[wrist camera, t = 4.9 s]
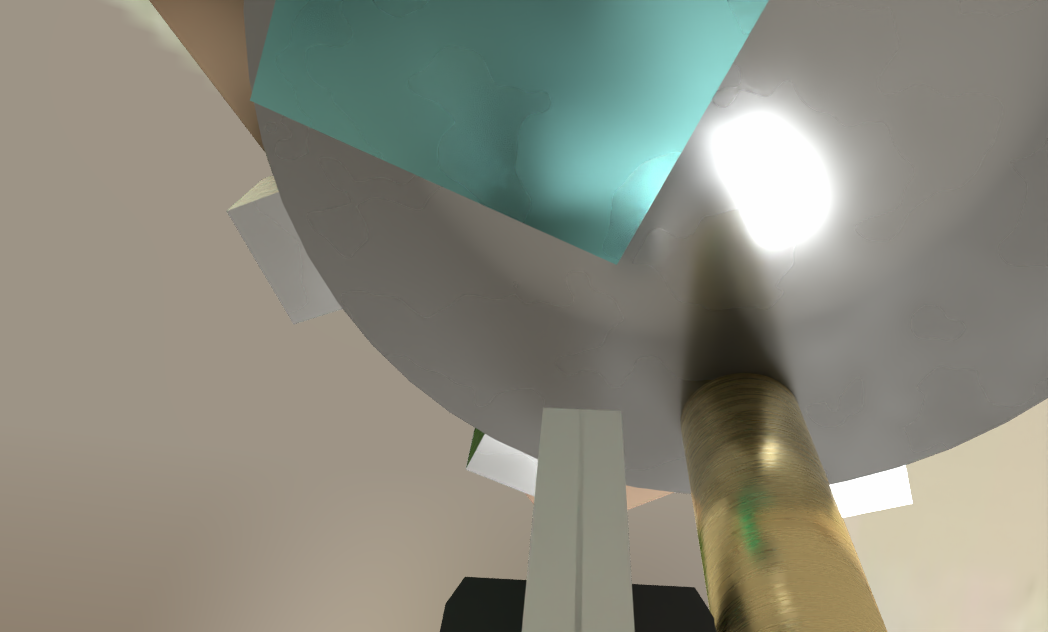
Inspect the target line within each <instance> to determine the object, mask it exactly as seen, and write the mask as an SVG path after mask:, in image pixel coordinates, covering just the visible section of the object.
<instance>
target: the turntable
mask: <svg viewBox="0 0 1048 632" xmlns="http://www.w3.org/2000/svg"><path fill="white" fill-rule="evenodd" d="M243 12H244V24H245V35H246V47H247V59H248V71H249V81H250V86H251V91H252V94H251V98H250V101H252V102H254V105H255V110H256V115H257V120H258V124H259V129H260V134H261V139H262V143H263V147H264V150H265V152H266V156H267V158H268V161H269V164H270V167H271V170H272V173H273V175H272V176H270V177H267V178H264V179H262V180H261V181H260V182H259V183H258V184H257V185H256V186H255V187H253V188H252V189H251V190H250V191H249V192H247V193H246V194H245V195H244V196H243V197H242V198H241V199H240V200H238V201H237V202H236V203H235V204H234V205H233V206H232V207H231V208H229V209H228V210H227V213H228V215H229V216H230V218H231V219H232V221H233V223H234V225H235V226H236V228H237V230H238V231H239V233H240V235H241V237H242V238H243V240H244V241H245V243H246V245H247V247H248V248H249V250H250V252H251V253H252V255H253V257H254V258H255V260H256V262H257V263H258V265H259V267H260V269H261V270H262V272H263V274H264V275H265V277H266V279H267V280H268V282H269V284H270V285H271V287H272V289H273V290H274V292H275V294H276V296H277V297H278V299H279V301H280V302H281V304H282V306H283V307H284V309H285V311H286V312H287V314H288V316H289V317H290V319H291V321H292V322H293V324H296V323H299V322H302V321H305V320H309V319H312V318H315V317H318V316H321V315H325V314H328V313H331V312H334V311H337V310H341V309H343V310H344V311H345V312H346V313H347V314H348V316H349V317H350V318H351V319H352V321H353V322H354V323H355V324H356V326H357V327H358V328H359V329H360V331H361V332H362V333H363V334H364V335H365V337H366V338H367V339H368V340H369V341H370V343H371V344H372V345H373V346H374V347H375V348H376V349H377V350H378V351H379V352H380V353H381V354H382V355H383V356H384V357H385V358H386V359H387V360H388V361H389V362H390V363H391V364H392V365H394V366H395V367H396V368H397V369H398V370H399V371H400V372H401V373H402V374H403V375H404V376H405V377H406V378H407V379H408V380H409V381H410V382H411V383H413V384H414V385H415V386H416V387H418V388H419V389H420V390H422V391H423V392H424V393H426V394H427V395H428V396H430V397H431V398H432V399H433V400H435V401H436V402H437V403H439V404H440V405H441V406H442V407H444V408H445V409H446V410H448V411H449V412H450V413H452V414H454V415H455V416H457V417H458V418H460V419H462V420H463V421H465V422H467V423H468V424H470V425H472V426H473V427H475V430H474V434H473V439H472V443H471V447H470V453H469V457H468V461H467V466H466V470H468V471H471V472H474V473H476V474H479V475H481V476H484V477H486V478H489V479H491V480H494V481H496V482H499V483H501V484H504V485H506V486H509V487H511V488H514V489H517V490H519V491H522V492H524V493H527V494H529V495H532V496H534V497H535V487H536V476H537V465H538V455H539V444H540V434H541V423H542V413H543V408H561V409H585V410H612V411H621V415H622V431H623V448H624V464H625V481H626V485H627V486H631V487H637V488H645V489H653V490H660V491H668V492H676V493H684V494H691V495H692V502H693V508H694V514H695V520H696V526H697V533H698V539H699V546H700V552H701V559H702V565H703V571H704V577H705V584H706V590H707V596H708V603H709V609H710V612H711V614H712V615H713V617H714V622H715V628H716V632H887V630H886V627H885V625H884V622H883V620H882V617H881V614H880V612H879V609H878V607H877V604H876V602H875V599H874V597H873V594H872V591H871V589H870V586H869V584H868V581H867V579H866V576H865V574H864V571H863V568H862V566H861V563H860V561H859V558H858V556H857V553H856V551H855V548H854V545H853V543H852V540H851V538H850V535H849V533H848V530H847V528H846V525H845V522H844V520H843V517H847V516H852V515H857V514H862V513H867V512H872V511H877V510H882V509H887V508H892V507H896V506H901V505H906V504H911V503H912V498H911V493H910V488H909V482H908V477H907V471H906V466H905V465H907V464H910V463H913V462H916V461H918V460H921V459H924V458H927V457H929V456H932V455H935V454H938V453H940V452H943V451H946V450H949V449H951V448H953V447H956V446H958V445H960V444H962V443H964V442H966V441H968V440H970V439H973V438H975V437H977V436H979V435H981V434H983V433H985V432H987V431H989V430H992V429H994V428H996V427H998V426H1000V425H1002V424H1004V423H1006V422H1008V421H1010V420H1011V419H1013V418H1015V417H1016V416H1018V415H1020V414H1022V413H1023V412H1025V411H1027V410H1028V409H1030V408H1032V407H1033V406H1035V405H1037V404H1038V403H1040V402H1042V401H1044V400H1045V399H1047V398H1048V0H244V10H243Z"/></svg>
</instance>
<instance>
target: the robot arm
mask: <svg viewBox="0 0 1048 632" xmlns="http://www.w3.org/2000/svg"><path fill="white" fill-rule="evenodd" d="M440 632H716V628H715V622H714V617H713V615H712V614H711V612H710V611H709V609H708V607H707V606H706V605H705V603H704V601H703V600H702V598H701V597H700V595H699V594H698V592H697V591H696V589H695V588H694V587H676V586H658V585H657V586H656V585H638V584H632V580H631V564H630V547H629V533H628V515H627V497H626V481H625V464H624V448H623V431H622V415H621V411H612V410H585V409H561V408H543V413H542V423H541V434H540V444H539V455H538V465H537V476H536V487H535V497H534V508H533V518H532V529H531V539H530V550H529V560H528V571H527V580H513V579H493V578H476V577H465V578H464V579H463V580H462V582H461V583H460V585H459V586H458V587H457V589H456V590H455V591H454V593H453V594H452V596H451V597H450V599H449V600H448V601H447V603H446V605H445V610H444V614H443V620H442V624H441V629H440Z"/></svg>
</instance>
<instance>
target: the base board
mask: <svg viewBox="0 0 1048 632" xmlns="http://www.w3.org/2000/svg"><path fill="white" fill-rule="evenodd" d="M149 1H150V2H151V3H152V5H153V6H154V7H155V8H156V10H157V11H158V12H159V14H160V15H161V16H162V18H163V19H164V20H165V22H166V23H167V24H168V26H169V27H170V28H171V29H172V31H173V32H174V33H175V35H176V36H177V37H178V39H179V40H180V41H181V43H182V44H183V45H184V47H185V48H186V49H187V50H188V52H189V53H190V54H191V56H192V57H193V58H194V60H195V61H196V62H197V64H198V65H199V66H200V68H201V69H202V70H203V71H204V73H205V74H206V75H207V77H208V78H209V79H210V81H211V82H212V83H213V85H214V86H215V87H216V88H217V90H218V91H219V92H220V94H221V95H222V96H223V98H224V99H225V100H226V102H227V103H228V104H229V106H230V107H231V108H232V109H233V111H234V112H235V113H236V115H237V116H238V117H239V119H240V120H241V121H242V123H243V124H244V125H245V127H246V128H247V129H248V130H249V132H250V133H251V134H252V136H253V137H254V138H255V140H256V141H257V142H258V144H259V145H260V146H261V147H262V149H263V150H264V147H263V143H262V139H261V134H260V129H259V124H258V120H257V115H256V110H255V105H254V102H252V101H250V98H251V94H252V91H251V86H250V81H249V71H248V59H247V47H246V35H245V24H244V12H243V10H244V0H149ZM264 151H265V150H264ZM671 493H674V492H668V491H660V490H653V489H645V488H637V487H631V486H627V485H626V497H627V510H629V509H631V508H634V507H637V506H639V505H642V504H645V503H647V502H650V501H653V500H655V499H658V498H661V497H663V496H666V495H669V494H671ZM525 494H526V495H527V496H528V498H529V499H530V500H531V502H532V503H533V504H534V496H532V495H529V494H527V493H525Z"/></svg>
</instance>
